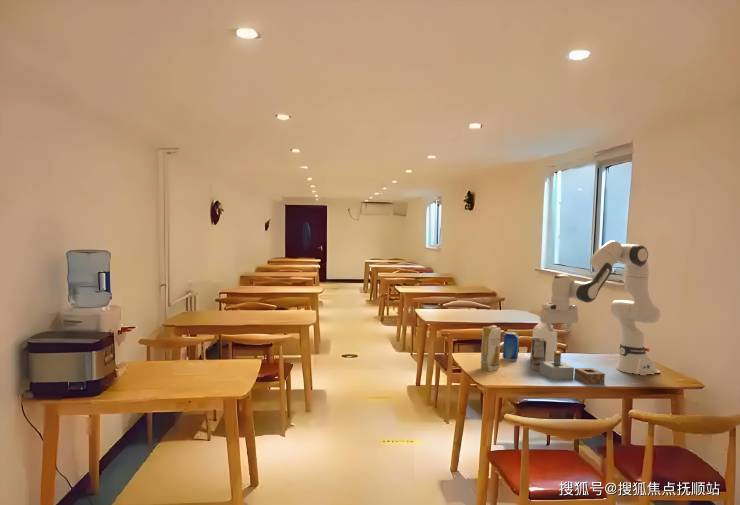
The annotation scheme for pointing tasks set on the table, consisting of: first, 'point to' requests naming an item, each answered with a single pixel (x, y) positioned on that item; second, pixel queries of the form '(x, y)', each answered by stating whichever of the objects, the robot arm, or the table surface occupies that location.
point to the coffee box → (537, 352)
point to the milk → (546, 339)
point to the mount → (589, 375)
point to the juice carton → (490, 348)
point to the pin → (557, 358)
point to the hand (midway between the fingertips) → (558, 331)
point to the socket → (556, 370)
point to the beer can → (510, 346)
